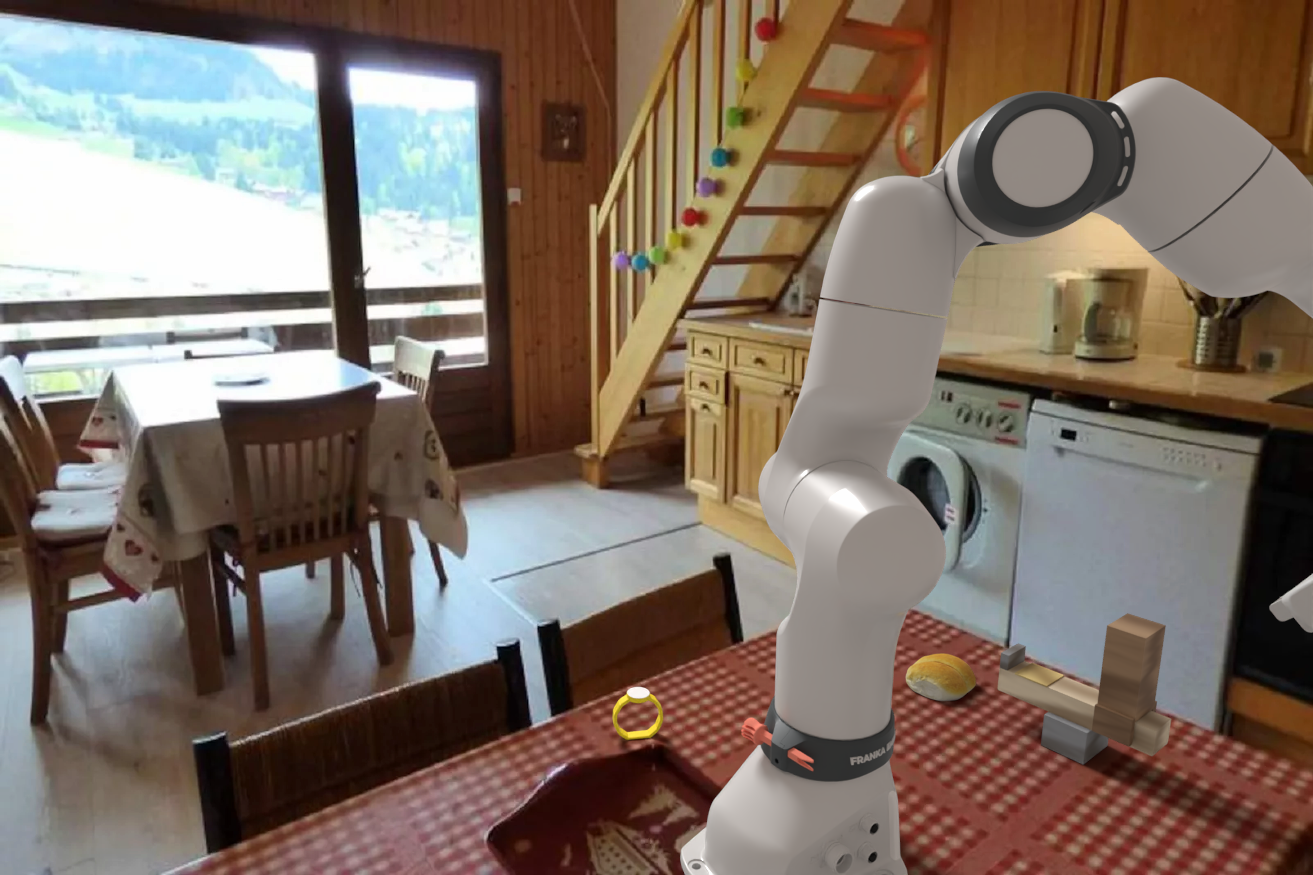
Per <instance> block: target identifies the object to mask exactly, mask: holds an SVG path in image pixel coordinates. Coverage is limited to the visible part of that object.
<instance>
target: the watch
mask: <svg viewBox="0 0 1313 875" xmlns="http://www.w3.org/2000/svg"><path fill="white" fill-rule="evenodd" d="M649 690H650V689H647V688H645V687H642V686H634V687H631V688H628V689H627V691H626V694H624V696H623V695H622V697H620V698H619V699H618V701H617V702H616V703H615V705H614V707H613V709H612V723H613V727H614V730H616V732H617V735H618V736H620V737H622V738H623V739H625V740H626V741H629V740H631V741H632V740H638V739H651V738H652V737H654V736H655V735H656V733H658V732H659V730H660V729H661V727H662V724H663V723H664V712H663V711H664V710H663V708H662V704H661V702H660V701H659V700H658V699H657V697H656V696H655V695H653V694H651V692H650V691H649ZM646 702H650V703H653V704H654V705H655V707H656V709H657V712H658V715H657V718H656V720H655V722H654V723H653V724H652V725H651V726H650V727H649V728H648V729H645V730H636V731H626V730H625V729H623V728H622V727H621V726H620V725H619V722H618V715H619V713H620V712H621V709H622V708H623V707H624V706H625V705H627V704H629V703H633V704H644V703H646Z"/></svg>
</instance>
